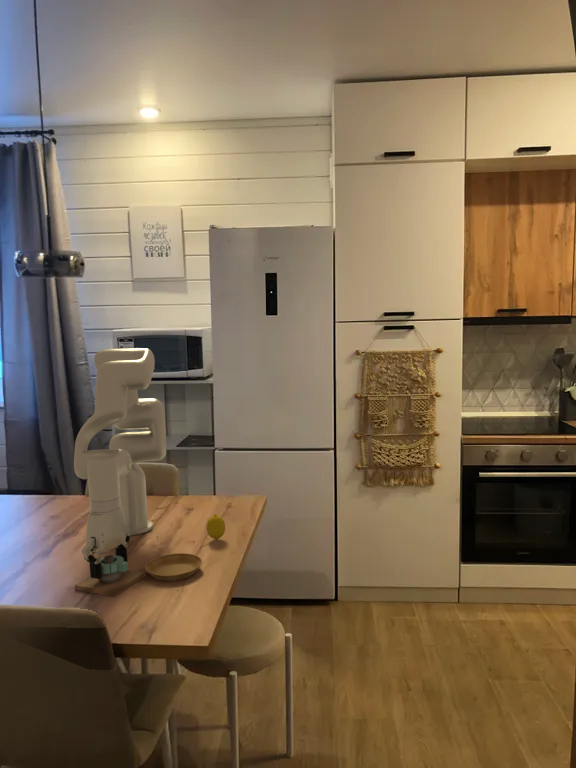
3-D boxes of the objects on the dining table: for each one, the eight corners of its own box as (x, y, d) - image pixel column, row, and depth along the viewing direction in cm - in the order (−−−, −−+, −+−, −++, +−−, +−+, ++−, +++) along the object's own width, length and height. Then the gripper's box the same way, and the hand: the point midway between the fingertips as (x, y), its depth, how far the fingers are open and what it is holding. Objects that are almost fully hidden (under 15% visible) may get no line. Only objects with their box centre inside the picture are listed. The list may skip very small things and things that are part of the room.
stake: (75, 589, 152) (73, 562, 151) (107, 571, 162) (105, 545, 162) (113, 596, 147) (111, 568, 146) (144, 577, 158) (142, 551, 157)
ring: (89, 571, 152) (88, 563, 152) (107, 561, 159) (107, 553, 159) (116, 576, 149) (116, 568, 149) (134, 565, 155) (134, 558, 155)
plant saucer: (176, 589, 150) (175, 579, 150) (133, 578, 158) (133, 568, 158) (213, 568, 163) (213, 558, 162) (172, 558, 171) (172, 549, 170)
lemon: (222, 543, 180) (221, 517, 179) (204, 543, 181) (203, 517, 180) (228, 537, 185) (226, 511, 185) (210, 536, 187) (209, 511, 186)
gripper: (116, 494, 162) (120, 556, 164) (68, 513, 146) (73, 582, 148) (139, 496, 159) (142, 559, 161) (93, 516, 143) (97, 586, 145)
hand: (109, 570), depth 154 cm, fingers open, 9 cm apart
